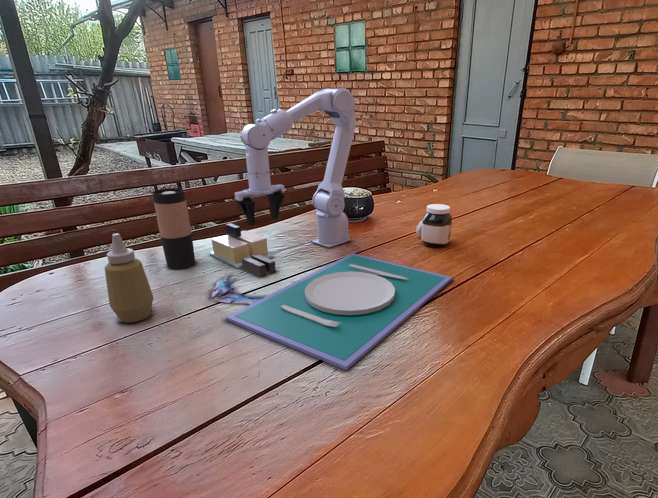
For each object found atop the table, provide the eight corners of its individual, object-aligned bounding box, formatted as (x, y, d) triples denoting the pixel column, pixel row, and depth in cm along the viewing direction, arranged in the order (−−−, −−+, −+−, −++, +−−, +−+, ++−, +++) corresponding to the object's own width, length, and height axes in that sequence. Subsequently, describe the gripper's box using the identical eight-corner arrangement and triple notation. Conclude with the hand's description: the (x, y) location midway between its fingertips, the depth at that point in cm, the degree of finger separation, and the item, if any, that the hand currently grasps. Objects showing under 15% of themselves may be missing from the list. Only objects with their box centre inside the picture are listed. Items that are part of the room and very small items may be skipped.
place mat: (346, 370, 71) (346, 359, 71) (226, 320, 87) (225, 310, 86) (451, 280, 106) (452, 271, 105) (352, 255, 121) (352, 248, 120)
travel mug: (159, 267, 113) (144, 192, 105) (180, 257, 120) (168, 186, 112) (182, 271, 111) (168, 195, 103) (202, 261, 117) (191, 189, 109)
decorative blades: (195, 283, 102) (233, 273, 109) (195, 286, 103) (233, 275, 109) (232, 312, 89) (273, 298, 95) (232, 316, 89) (274, 301, 95)
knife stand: (258, 264, 115) (257, 253, 114) (275, 271, 110) (274, 261, 109) (242, 268, 112) (241, 258, 111) (260, 277, 107) (259, 266, 106)
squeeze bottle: (113, 329, 84) (90, 243, 76) (114, 312, 90) (92, 231, 83) (158, 320, 87) (139, 237, 80) (155, 304, 94) (138, 225, 86)
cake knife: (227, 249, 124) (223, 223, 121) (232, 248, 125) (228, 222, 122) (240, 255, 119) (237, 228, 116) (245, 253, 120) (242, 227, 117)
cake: (243, 245, 129) (241, 228, 127) (272, 257, 120) (271, 239, 118) (210, 254, 122) (207, 237, 120) (238, 268, 112) (236, 249, 110)
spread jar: (441, 250, 125) (444, 212, 120) (406, 244, 130) (408, 207, 126) (455, 239, 134) (459, 203, 130) (422, 233, 140) (425, 199, 135)
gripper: (243, 177, 105) (249, 230, 110) (289, 170, 115) (293, 219, 120) (228, 174, 109) (234, 225, 115) (274, 167, 119) (278, 214, 124)
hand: (263, 221), depth 118 cm, fingers open, 7 cm apart
